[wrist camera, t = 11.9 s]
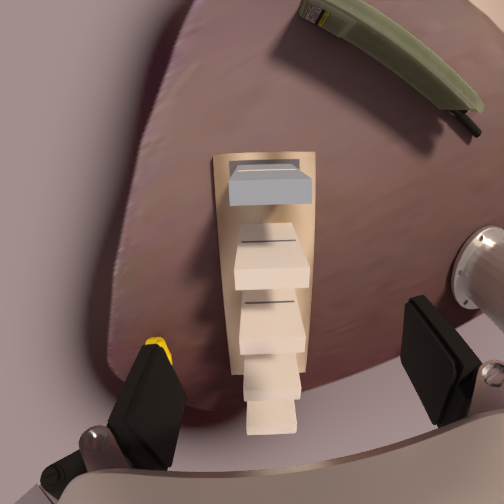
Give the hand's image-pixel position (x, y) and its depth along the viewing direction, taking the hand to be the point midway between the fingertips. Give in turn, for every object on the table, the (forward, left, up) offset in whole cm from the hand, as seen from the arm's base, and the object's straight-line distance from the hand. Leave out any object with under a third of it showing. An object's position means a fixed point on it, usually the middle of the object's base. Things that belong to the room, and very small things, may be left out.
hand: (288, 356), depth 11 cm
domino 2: (0, +2, -21) cm, 21 cm away
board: (0, +8, -22) cm, 23 cm away
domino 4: (0, +14, -21) cm, 26 cm away
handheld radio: (-15, -16, -23) cm, 32 cm away
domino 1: (0, -4, -21) cm, 22 cm away
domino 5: (0, +20, -21) cm, 29 cm away
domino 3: (0, +8, -21) cm, 23 cm away
